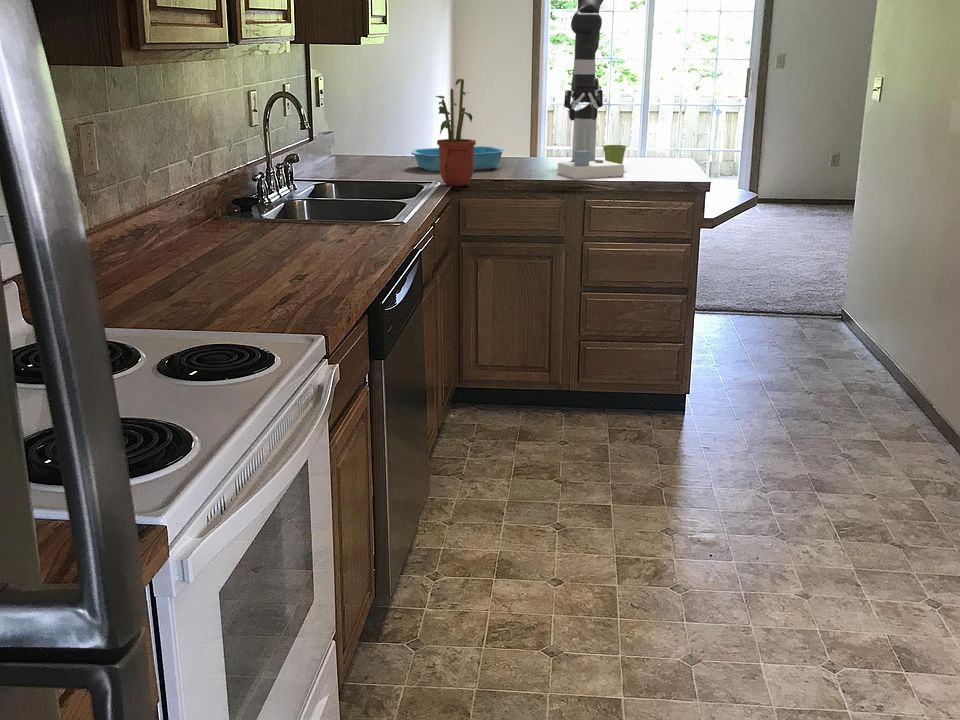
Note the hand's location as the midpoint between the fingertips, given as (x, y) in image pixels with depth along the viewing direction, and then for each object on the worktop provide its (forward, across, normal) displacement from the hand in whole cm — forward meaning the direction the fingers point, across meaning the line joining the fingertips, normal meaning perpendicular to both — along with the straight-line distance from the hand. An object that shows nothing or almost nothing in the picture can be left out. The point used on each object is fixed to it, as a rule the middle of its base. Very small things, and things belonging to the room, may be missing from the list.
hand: (582, 119), depth 347 cm
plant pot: (+20, -22, -15) cm, 33 cm away
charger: (+20, 0, 0) cm, 20 cm away
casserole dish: (+20, +34, -38) cm, 55 cm away
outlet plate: (+20, -5, -2) cm, 21 cm away
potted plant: (+20, +53, +5) cm, 57 cm away
